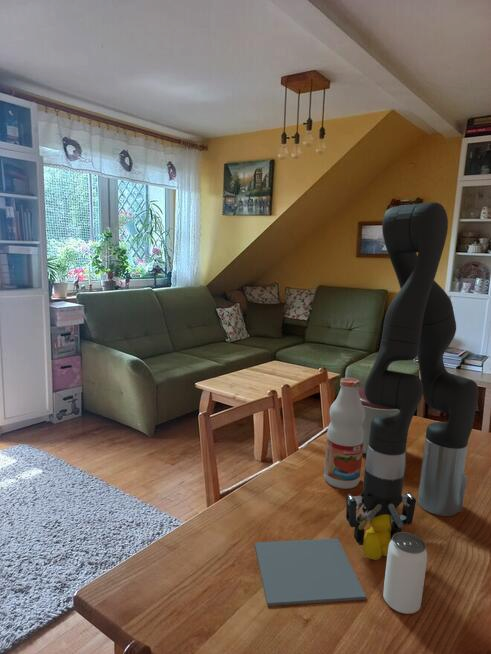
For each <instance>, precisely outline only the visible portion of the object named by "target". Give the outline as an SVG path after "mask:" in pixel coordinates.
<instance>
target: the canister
mask: <svg viewBox="0 0 491 654" xmlns="http://www.w3.org/2000/svg"><path fill="white" fill-rule="evenodd" d="M364 387H365V386H364ZM364 387H359V388H358V392H359V396H360V400H361V403H362V405H363V407H364V409H365V420H364V422H363V429H364V442H363V452H362V454H364V455H366V454H367V450H368V446H369V436H370V427H371V421H372V419H373V418H374V417H376V416H379V415H395V414H398V413H399V412H400V410H398V409H394V408H389V407H384V406H379V405H374V404H372V403H370V402H369V401H368V400H367V398H366V396H365V392H364Z"/></svg>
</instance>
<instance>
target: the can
mask: <svg viewBox="0 0 491 654" xmlns="http://www.w3.org/2000/svg"><path fill="white" fill-rule="evenodd" d="M426 548H427V546H426V543H425V541H424V540H423V539H422V538H421V537H419V536H418V535H416V534H414V533H412V532H408V531H407V532H405V531H401V532H398V533H396V534H394V535H393V536H392V540H391V541H390V543H389V547H388V554H387V555H386V563H385V564H386V566H385V573H384V583H383V592H382V594H383V600H384V601H385V603H386V604H387V605H388V606H389V607H390V608H391V609H392V610H393V611H395V612H397V613H400V614H404V615H412V614H415V613H418V612H419V610H420V609H421V605H422V600H423V593H424V586H425V585H424V584H425V578H426V571H427V570H426V569H427V564H428V563H427V562H428V553H427V549H426Z"/></svg>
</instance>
